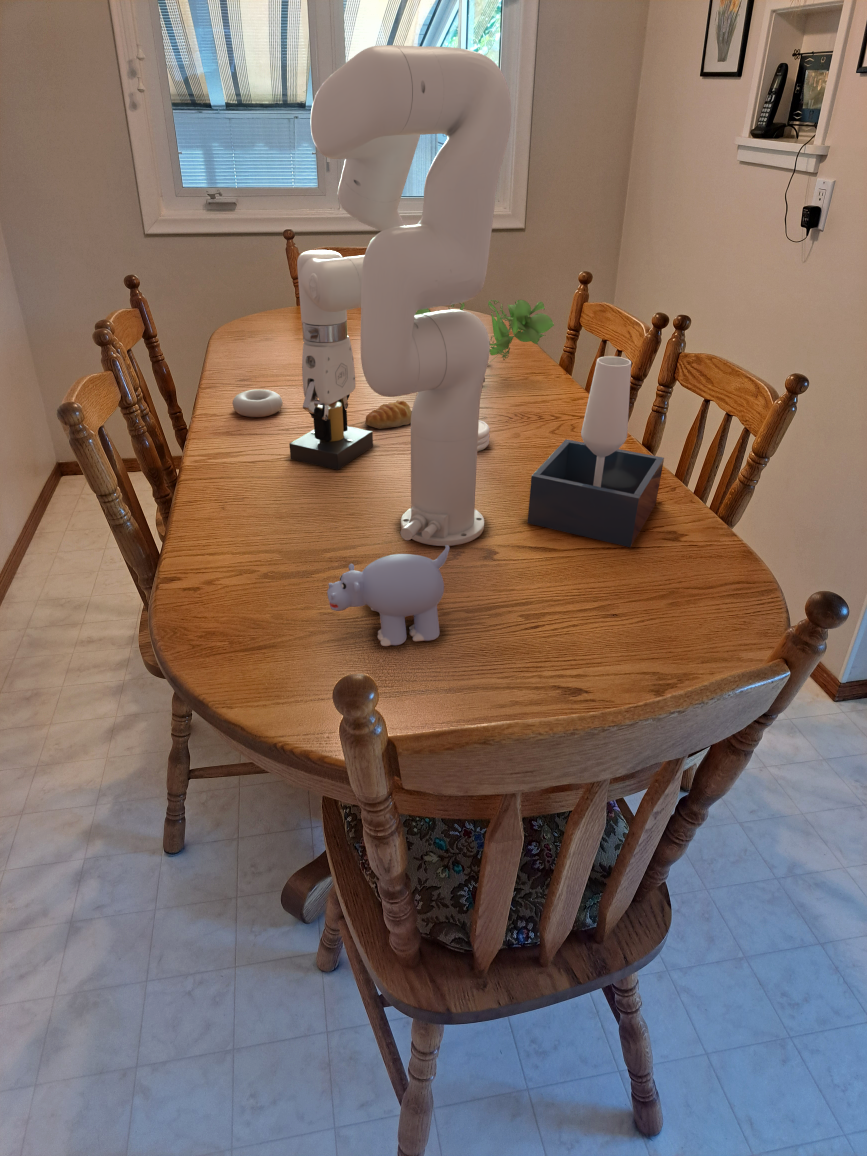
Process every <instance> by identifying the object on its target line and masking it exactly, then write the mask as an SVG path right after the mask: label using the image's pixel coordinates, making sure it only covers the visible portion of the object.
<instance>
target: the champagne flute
mask: <svg viewBox="0 0 867 1156" xmlns="http://www.w3.org/2000/svg"><path fill="white" fill-rule="evenodd" d="M631 372H632V361H631V360H630V359H628V358H627V357H621V356H616V355H606V356H600V357H598V358H596V362H595V368H594V372H593V377H592V382H591V386H590V390H589V395H588V399H587V404H586V407H585V413H584V417H583V418H584V419H583V422H582V426H581V431H580V434H581V435H580V436H581V439H582V442H583V443H585V445H586V446H587V447H588V448H589V449H590V450H591V451H592V453H593V454H595V455H596V456H597V460H596V468H595V475H594V483H593V486H597V487H601V481H602V474H603V467H604V460H605V457H606V456H608V455H610V454H612V453H613V452H615V451H616V450H618V449H621V447H622V446H623V445H624V444H625V443H626V441H627V439H628V431H629V430H628V428H629V414H630V413H629V411H630V395H631V394H630V392H631V391H630V390H631V375H632V373H631Z"/></svg>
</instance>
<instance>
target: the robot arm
mask: <svg viewBox="0 0 867 1156" xmlns="http://www.w3.org/2000/svg"><path fill="white" fill-rule="evenodd" d="M309 120H310V123H309V124H310V126H309V127H310V132H311V138H312V141H313V143H314V145H315V147H316V149H317V150H318V152H319V153H320V154H321V155H322V156H324V157H325V158H328V159H331V160H344V163H343V167H342V172H341V175H340V180H339V184H338V188H337V198H338V199H337V200H338V201H339V204H340V206H341V208H342V209H343V210H344V212H346V213H347V214H348V215H349V216H350V217H351V218H353V219H355V220H356V221H358V222H360V223H361V224H363V225H366V226H368V227H370V228H373V229H375V230H377V231H380V232H378V233H377V234H376V235H375V236H374V237H372V239H371V240H370V241H369V244H368V246H367V247H366V250H365V253H364V254H362V255H354V256H345V257H343V255H342V254H341V253H339V252H337V251H335V250H330V249H329V250H327V249H316V250H315V249H314V250H307V251H304V252H302V253H301V254H299V255H298V257H297V262H296V265H297V266H296V268H297V269H296V270H297V280H298V281H297V282H298V293H299V305H300V306H299V307H300V320H301V331H302V342H303V344H302V354H301V355H302V356H301V375H302V376H301V377H302V379H301V380H302V392H303V396H304V399H303V404H302V409H303V410H304V411H306V412H308V414H310V417H311V419H313V430H314V432H315V438H316V439H319V440H324V441H328V442H329V441H331V440H332V436H331V420H330V419H328V411H329V405H330V404H332V403H334V402H336V401H338V402H341V403H342V409H343V428H344V432H345V431H347V430H348V427H347V426H348V410H347V409H348V408H349V398H350V395H351V394H352V393H353V392H354V391H355V390H356V384H357V383H356V371H355V361H354V354H353V353H354V352H353V347H352V342H351V339H350V336H349V329H348V311H351V310H355V309H360V361H361V368H362V372H363V376H364V378H365V381H366V383H367V385H368V387H370V389H371V390H372V391H373V392H374V393H376V394H377V395H379V396H383V397H387V398H394V397H395V398H396V397H401V396H407V395H412V394H416V393H417V394H416V396H415V399H414V401H413V404H412V409H411V411H412V413H411V423H410V507H409V508H408V509H407V510H406V511H404V512H403V513H402V515H401V518H400V528H401V530H400V531H399V533H400V536H401V538H402V540H405V541H411V539H412V540H413V541H415V542H418V543H421V544H424V545H429V546H435V547H446V545H448V546H449V547H452V546H453V547H454V546H459V545H463V544H466V543H469V542H472V541H473V540H474V541H475V539H478V537H480V536H481V535H482V533H483V532H484V530H485V518H484V515H482V514H481V512H480V511H479V510H477V509H476V487H477V464H478V451H477V445H478V427H479V420H480V409H481V408H480V407H481V399H482V398H481V397H482V390H483V385H484V382H483V381H484V377H485V378H486V373H487V369H488V365H489V364H488V363H489V359H490V349H491V348H490V347H491V346H490V344H491V340H490V335H489V333H488V329H487V327H486V325H485V324H484V322H483V321H482V320H481V319H480V318H479V317H478V316H477V315H476V314H474V313H472V312H470V311H467V310H464V309H463V310H460V309H450V310H449V309H443V310H439V311H438V310H436V311H431V312H430V313H423V314H418V315H415V314H416V312H417V310H421V309H427V308H428V309H433V308H438V307H445V306H451V305H452V304H453V305H456V304H459V303H461V304H462V303H463V302H464V303H465V302H468V301H471V300H473V299H475V298H476V297H478V295H479V294H480V293H481V292H482V290H483V288H484V287H485V282H486V278H487V273H488V272H487V271H488V265H489V257H490V249H491V239H492V231H493V224H494V223H493V222H494V216H495V215H494V214H495V206H496V205H495V204H496V193H497V189H498V188H497V187H498V183H499V178H500V173H501V168H502V164H503V162H504V158H505V153H506V150H507V146H508V141H509V137H510V131H511V124H512V103H511V95H510V90H509V86H508V83H507V80H506V77H505V76H504V73H503V72H502V70H501V68H500V67H499V66H498V65H497V64H496V62H495V61H494V60H493V59H491V58H490V57H488V56H486V55H485V54H482V53H480V52H478V51H474V50H471V49H466V48H459V47H451V46H431V45H430V46H427V45H426V46H419V45H418V46H417V45H398V44H397V45H395V44H384V45H383V44H382V45H381V44H380V45H373V46H369V47H367V48H364V49H362V50H361V51H359V52H358V53H357V54H355V55H354V56H353V57H352V58H350V59H349V60H348V61H346V62H345V63H344V64H343V65H341V66H340V67H339V68H338V69H336V70H335V71H333V73H332V74H330V75H329V76H328V77H327V78H326V79H325V80H324V81H323V82H322V84H321V85H320V87H319V88H318V90H317V92H316V94H315V96H314V98H313V102H312V105H311V110H310V119H309ZM422 135H445V136H446V138H447V139H446V141H445V142H444V144H443V145H442V146H441V148H440V149H439V150H438V151H437V153H436V155H435V157H434V159H433V161H432V163H431V165H430V166H429V169H428V172H427V174H426V177H425V181H424V187H423V205H422V213H421V217H420V220H419V221H418V222H417V224H410V225H406V224H405V222H404V220H403V218H402V216H401V215H400V214H401V213H400V212H399V211H398V209H399V206H400V201H401V198H402V196H403V193H404V189H405V186H406V183H407V180H408V176H409V173H410V169H411V167H412V163H413V160H414V157H415V153H416V150H417V148H418V145H419V141H420V137H421V136H422ZM318 404H319V405H323V406H322V410H321V409H320V408H318Z"/></svg>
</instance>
